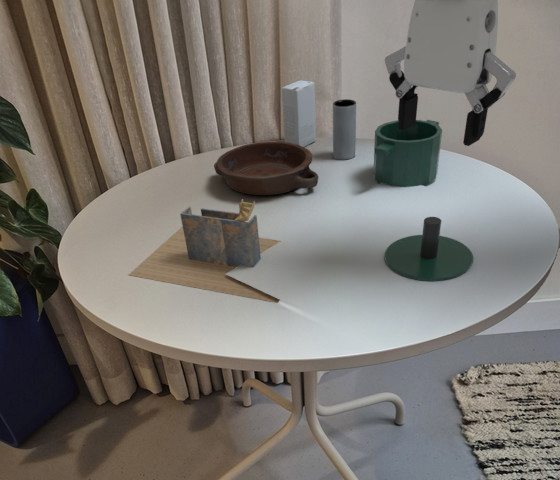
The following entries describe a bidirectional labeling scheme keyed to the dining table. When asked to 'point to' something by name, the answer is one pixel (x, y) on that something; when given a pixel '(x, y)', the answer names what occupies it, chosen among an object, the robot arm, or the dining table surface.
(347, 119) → the grey cylinder
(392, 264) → the lid
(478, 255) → the dining table surface
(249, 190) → the dish
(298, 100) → the cosmetic box
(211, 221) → the ruin model on sheet
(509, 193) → the dining table surface
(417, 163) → the pot
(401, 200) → the dining table surface
